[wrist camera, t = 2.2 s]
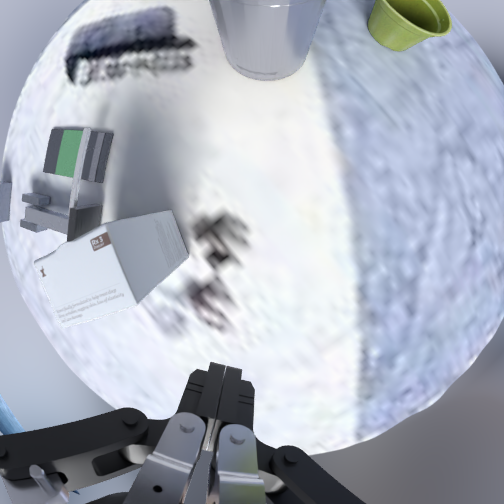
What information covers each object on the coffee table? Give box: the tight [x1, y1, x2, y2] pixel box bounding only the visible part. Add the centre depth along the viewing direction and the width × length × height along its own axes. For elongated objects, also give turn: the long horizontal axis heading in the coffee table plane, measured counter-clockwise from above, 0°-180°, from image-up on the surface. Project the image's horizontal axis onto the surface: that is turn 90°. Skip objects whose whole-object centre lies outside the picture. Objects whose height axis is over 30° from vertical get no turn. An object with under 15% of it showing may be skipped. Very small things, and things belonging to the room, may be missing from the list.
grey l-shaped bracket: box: [25, 128, 102, 242], centre depth 26 cm, size 14×12×5 cm
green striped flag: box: [0, 129, 113, 232], centre depth 27 cm, size 14×22×4 cm
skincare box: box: [34, 210, 189, 328], centre depth 23 cm, size 8×6×15 cm
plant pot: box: [368, 0, 452, 51], centre depth 19 cm, size 9×9×9 cm
